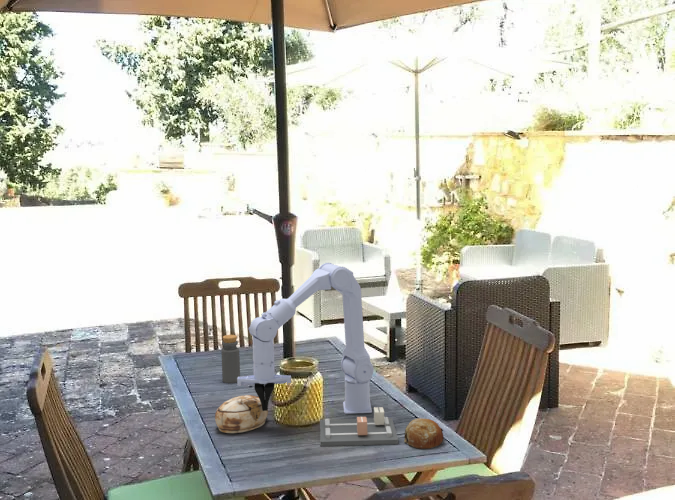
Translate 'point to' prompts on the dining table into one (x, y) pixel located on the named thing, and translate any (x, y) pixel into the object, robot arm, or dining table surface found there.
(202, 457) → the dining table surface
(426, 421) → the bread roll
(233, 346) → the bottle
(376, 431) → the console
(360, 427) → the fader
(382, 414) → the fader
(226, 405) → the trinket box
